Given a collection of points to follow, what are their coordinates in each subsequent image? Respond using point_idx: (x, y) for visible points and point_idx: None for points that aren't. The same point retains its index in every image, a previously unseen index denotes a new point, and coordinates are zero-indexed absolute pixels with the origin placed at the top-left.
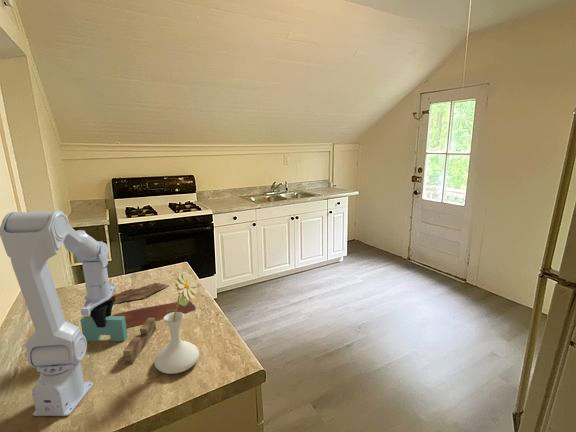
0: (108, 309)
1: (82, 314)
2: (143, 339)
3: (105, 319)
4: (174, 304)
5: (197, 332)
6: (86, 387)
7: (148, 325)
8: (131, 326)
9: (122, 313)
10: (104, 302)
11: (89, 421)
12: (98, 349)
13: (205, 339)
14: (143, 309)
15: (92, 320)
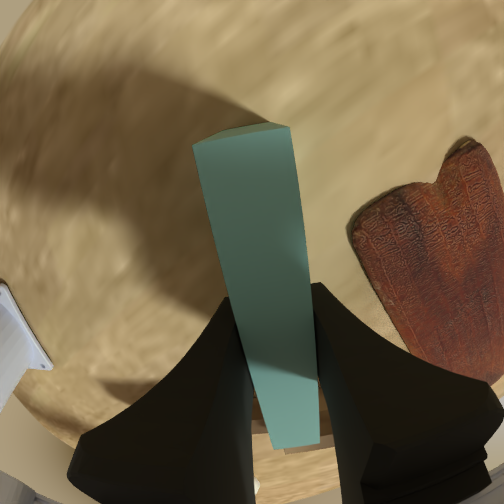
0: (334, 433)
1: (3, 483)
2: (253, 432)
3: (250, 397)
4: (500, 358)
5: (334, 463)
6: (35, 362)
7: (312, 449)
8: (386, 309)
9: (490, 202)
10: (349, 497)
11: (19, 393)
12: (176, 275)
13: (304, 478)
14: (502, 283)
15: (229, 286)
